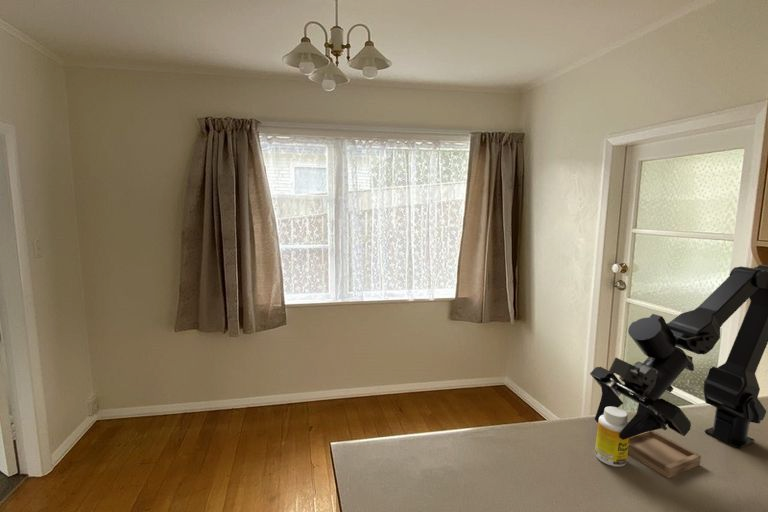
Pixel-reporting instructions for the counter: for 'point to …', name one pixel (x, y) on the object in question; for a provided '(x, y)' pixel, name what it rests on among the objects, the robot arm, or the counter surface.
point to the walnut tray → (662, 454)
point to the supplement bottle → (612, 437)
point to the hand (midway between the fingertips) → (608, 429)
